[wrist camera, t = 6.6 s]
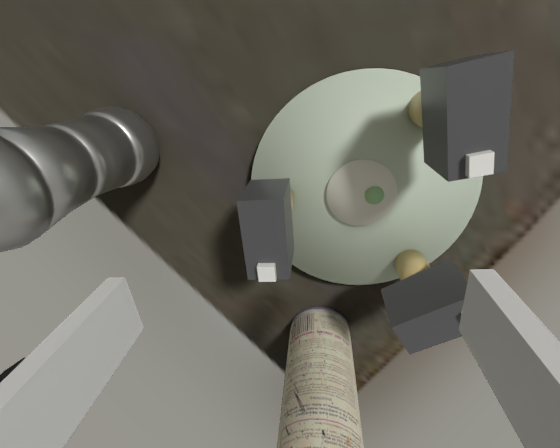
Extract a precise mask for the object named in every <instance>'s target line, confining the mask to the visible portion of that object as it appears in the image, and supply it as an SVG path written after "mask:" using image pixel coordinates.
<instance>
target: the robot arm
mask: <svg viewBox="0 0 560 448" xmlns="http://www.w3.org/2000/svg"><path fill="white" fill-rule="evenodd" d="M143 329H144V327H143V324H142V321H141V319H140V316H139V313H138V311H137V308H136V305H135V303H134V300H133V297H132V295H131V292H130V289H129V287H128V284H127V281H126V279H125V277H117V278H107V279H106V280H105V281H104V282H103V283H102V284H101V285H100V286H99V287H98V288H97V289H96V290H95V291H94V292H93V293H92V294H91V295H90V296H89V297H88V298H87V299H86V300H85V301H84V302H83V303H81V305H79V306H78V307H77V308H76V310H74V311H73V312H72V313H71V314H70V316H68V317H67V318H66V319H65V320H64V321H63V322H62V323H61V324H60V325H59V326H58V327H57V328H56V329H55V330H54V331H53V332H52V333H51V334H50V335H49V336H48V337H47V338H46V339H45V340H44V341H43V342H42V343H41V344H40V345H39V346H37V348H35V349H34V351H32V352H31V353H30V354H29V355H28V356H27V357H26V358H23V359H21V360H20V361H18V362H17V363H16V364H14V365H13V366H11V367H10V368H8V369H7V370H5V371H4V372H3V373H2V374H1V375H0V448H64V446H65V445H66V443H67V442H68V440H69V439H70V437H71V436H72V434H73V433H74V431H75V430H76V428H77V427H78V426H79V424H80V423H81V421H82V420H83V418H84V417H85V415H86V414H87V412H88V411H89V409H90V408H91V406H92V405H93V403H94V402H95V400H96V399H97V397H98V396H99V394H100V393H101V391H102V390H103V388H104V387H105V386H106V384H107V383H108V381H109V380H110V378H111V377H112V375H113V374H114V372H115V371H116V369H117V368H118V366H119V365H120V363H121V362H122V361H123V359H124V358H125V356H126V355H127V353H128V352H129V350H130V349H131V347H132V346H133V344H134V343H135V341H136V340H137V338H138V337H139V335H140V334H141V332H142V331H143ZM459 331H460V333H461V335H462V336H463V338H464V340H465V342H466V343H467V345H468V347H469V349H470V351H471V352H472V354H473V356H474V358H475V360H476V362H477V363H478V365H479V367H480V369H481V370H482V372H483V374H484V376H485V378H486V380H487V381H488V383H489V385H490V387H491V388H492V390H493V392H494V394H495V396H496V397H497V399H498V401H499V403H500V405H501V406H502V408H503V410H504V412H505V414H506V415H507V417H508V419H509V421H510V423H511V424H512V426H513V428H514V430H515V432H516V433H517V435H518V437H519V438H520V441H521V442H522V444H523V446H524V448H560V342H559V341H558V340H557V339H556V338H555V336H554V335H553V334H552V333H551V332H550V331H549V330H548V329H547V328H546V326H544V324H543V323H542V322H541V321H540V320H539V319H538V318H537V316H536V315H535V314H534V313H533V312H532V311H531V310H530V309H529V308H528V307H527V305H526V304H525V303H524V302H523V301H522V300H521V299H520V298H519V297H518V296H517V295H516V293H515V292H514V291H513V290H512V289H511V288H510V287H509V286H508V284H507V283H506V282H505V281H504V280H503V279H502V278H501V277H500V276H499V275H498V273H497V272H495V270H494V269H480V270H470V272H469V277H468V282H467V288H466V293H465V298H464V303H463V309H462V314H461V319H460V324H459Z"/></svg>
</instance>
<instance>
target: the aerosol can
mask: <svg viewBox="0 0 560 448" xmlns="http://www.w3.org/2000/svg"><path fill="white" fill-rule="evenodd" d="M277 448H364V446H363V438H362V429H361V422H360V413H359V405H358V396H357V388H356V380H355V371H354V363H353V355H352V347H351V338H350V331H349V325H348V323H347V320H346V319H345V318H344V317H343V316H342V315H341V314H340V313H339V312H337V311H335V310H333V309H331V308H326V307H310V308H307V309H304V310H302V311H301V312H299V313H297V315H296V316H295V317H294V318H293V320H292V323H291V328H290V336H289V345H288V354H287V363H286V372H285V380H284V389H283V398H282V407H281V417H280V425H279V434H278V442H277Z"/></svg>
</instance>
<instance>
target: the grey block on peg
mask: <svg viewBox="0 0 560 448" xmlns="http://www.w3.org/2000/svg"><path fill="white" fill-rule="evenodd" d="M514 52H515V50H512V51H504V52H497V53H490V54H482V55H475V56H470V57H466V58H462V59H458V60H453V61H449V62H445V63H441V64H437V65H433V66H429V67H425V68H421V69H420V85H421V91H419V92H418V93H417V94H416V95H415V96H414V97H413V98H412V100H411V101H410V104H409V108H408V113H409V117H410V119H411V121H412V122H413V123H414V124H416V125H418V126H420V127H422V129H423V151H424V163H426V164H427V165H428V166H429V167H430V168H432V169H433V170H434V171H435V172H437V173H438V174H439V175H440V176H442V177H443V178H444V179H445V180H446V181H448V182H450V181H456V180H462V179H468V178H473V177H479V176H485V175H491V174H496V173H502V172H507V162H508V146H509V131H510V115H511V99H512V83H513V68H514Z"/></svg>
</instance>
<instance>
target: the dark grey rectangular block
mask: <svg viewBox="0 0 560 448" xmlns="http://www.w3.org/2000/svg"><path fill="white" fill-rule="evenodd" d="M236 202H237V209H238V216H239V223H240V230H241V237H242V243H243V250H244V257H245V264H246V271H247V278H248V280H259V282H276V280H290V275H291V268H292V261H293V254H294V236H293V221H292V209H293V204H294V194H293V192H292V190H291V189H290V178H283V179H260V180H250V181H249V183H248V184H247V186H246V187H245V189H244V190H243V192H242V193H241V195H240V196H239V198H238V199H237V201H236Z"/></svg>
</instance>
